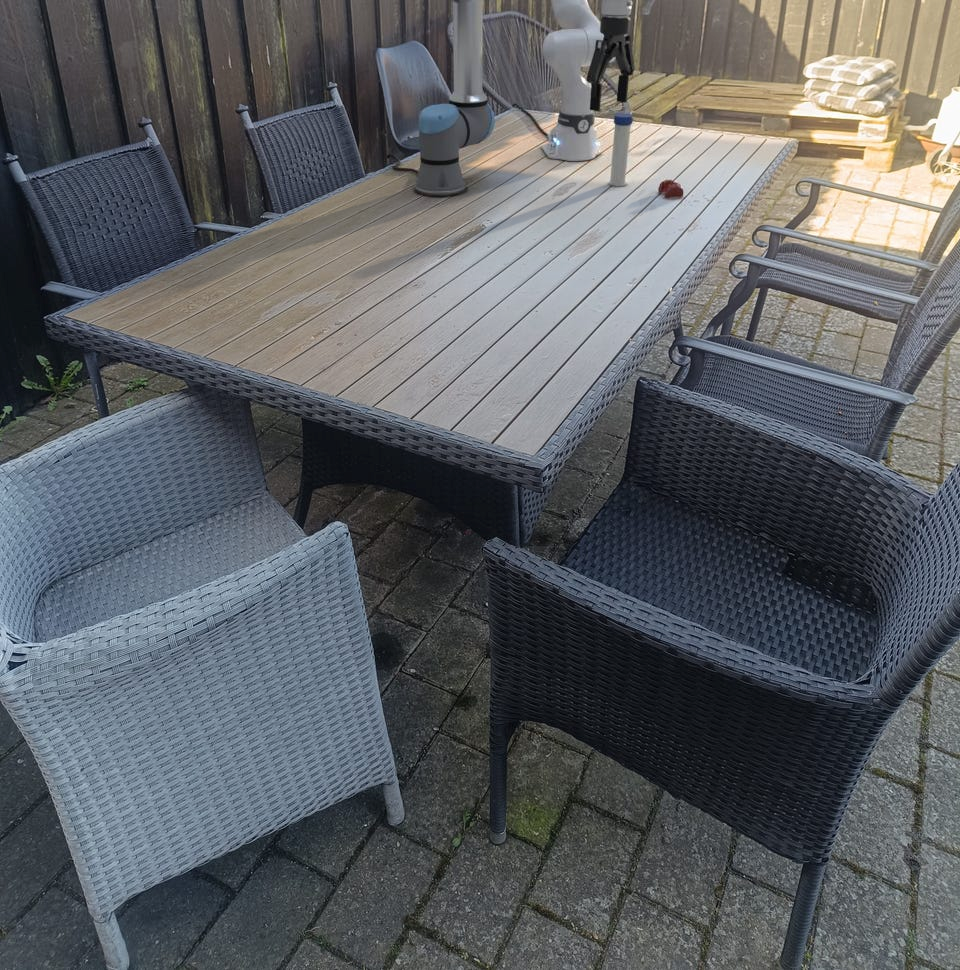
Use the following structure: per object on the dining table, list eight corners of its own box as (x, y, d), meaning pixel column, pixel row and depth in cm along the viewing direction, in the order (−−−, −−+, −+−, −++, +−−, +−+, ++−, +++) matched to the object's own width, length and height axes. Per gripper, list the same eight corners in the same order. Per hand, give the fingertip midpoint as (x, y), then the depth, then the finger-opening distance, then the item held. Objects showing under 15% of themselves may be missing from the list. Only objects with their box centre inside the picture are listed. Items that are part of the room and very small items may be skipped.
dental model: (674, 175, 255) (686, 183, 249) (673, 189, 258) (684, 197, 251) (657, 177, 254) (668, 185, 248) (656, 192, 257) (667, 200, 250)
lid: (632, 121, 255) (633, 113, 253) (632, 125, 250) (632, 117, 249) (614, 120, 255) (614, 112, 254) (613, 124, 251) (614, 116, 250)
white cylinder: (625, 182, 265) (631, 115, 253) (624, 186, 261) (631, 118, 249) (610, 181, 265) (615, 114, 254) (609, 186, 262) (615, 118, 250)
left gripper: (602, 22, 204) (595, 116, 216) (653, 12, 219) (644, 100, 232) (576, 19, 207) (570, 112, 220) (628, 10, 223) (620, 96, 236)
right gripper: (664, -44, 237) (658, 12, 245) (598, -43, 232) (594, 15, 240) (675, -43, 232) (669, 15, 240) (607, -41, 227) (603, 17, 235)
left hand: (608, 106), depth 226 cm, fingers open, 13 cm apart
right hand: (631, 15), depth 240 cm, fingers open, 8 cm apart
